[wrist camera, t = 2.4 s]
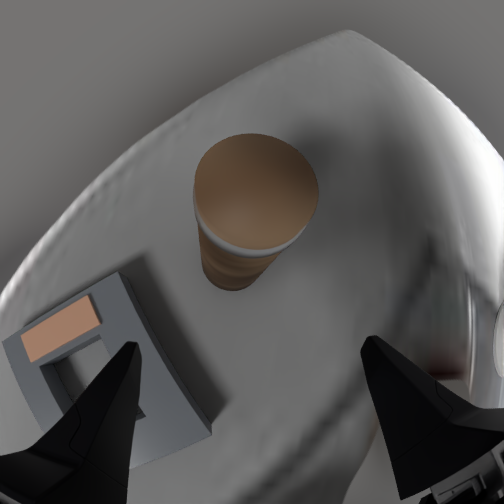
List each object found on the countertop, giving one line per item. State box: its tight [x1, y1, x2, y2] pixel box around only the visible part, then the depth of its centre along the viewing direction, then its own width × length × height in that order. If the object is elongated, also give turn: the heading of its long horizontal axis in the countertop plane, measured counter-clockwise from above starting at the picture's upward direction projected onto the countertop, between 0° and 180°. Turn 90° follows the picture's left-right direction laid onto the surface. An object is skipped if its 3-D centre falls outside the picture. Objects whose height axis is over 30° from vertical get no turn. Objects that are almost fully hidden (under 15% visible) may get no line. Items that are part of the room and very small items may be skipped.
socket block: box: [2, 271, 212, 469], centre depth 17 cm, size 14×14×3 cm
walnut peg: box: [193, 134, 318, 291], centre depth 17 cm, size 5×5×13 cm
